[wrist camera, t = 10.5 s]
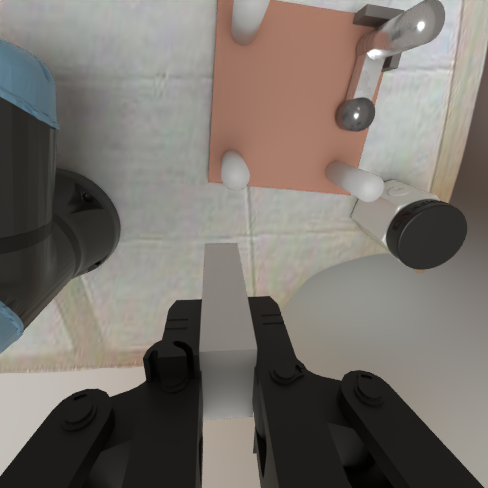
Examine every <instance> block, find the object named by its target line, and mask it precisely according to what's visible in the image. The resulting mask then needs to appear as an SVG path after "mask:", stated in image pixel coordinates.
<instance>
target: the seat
mask: <svg viewBox="0 0 488 488" xmlns="http://www.w3.org/2000/svg"><path fill="white" fill-rule="evenodd" d="M404 11H405V10H399V9H393V8H388V7H382V6H376V5H370V4H367V5H366V6H364V7H363V8H362V9H361V10H359V11H358V12H357V13H349V12H343V11H337V10H331V9H324V8H318V7H312V6H306V5H300V4H294V3H288V2H282V1H276V0H218V8H217V27H216V45H215V64H214V82H213V101H212V119H211V138H210V156H209V175H208V182H212V183H223V184H224V185H225V186H226V187H227V188H229V189H231V190H240V189H242V188H244V187H245V186H256V187H267V188H278V189H289V190H300V191H311V192H322V193H333V194H344V195H351V194H352V195H354V196H355V197H357V198H359V199H360V200H362V201H364V202H372V201H375V200H376V199H378V198H379V197H380V196H381V194H382V193H383V190H384V182H383V180H382V179H381V178H380V177H379V176H377V175H374V174H371V173H369V172H366V171H364V170H361V169H358V166H359V162H360V159H361V155H362V151H363V147H364V144H365V140H366V136H367V132H368V129H369V127H368V128H366V129H365V130H363V131H359V132H355V131H346V130H343V129H341V128H340V127H339V126H338V125H337V123H336V117H335V116H336V111H337V109H338V107H339V106H340V104H341V103H342V102H344V101H345V99H346V95H347V92H348V88H349V85H350V81H351V78H352V74H353V70H354V67H355V63H356V60H357V54H356V48H357V44H358V42H359V40H360V39H361V37H362V36H364V35H365V34H367V33H368V32H370V31H372V30H374V29H375V28H377V27H379V26H381V25H382V24H384V23H386V22H388V21H389V20H391V19H393V18H394V17H396V16H398V15H400V14H401V13H403V12H404ZM401 53H402V52H401ZM401 53H398V54H395V55H392V56H390V57H387V58H385V61H384V64H383V67H382V70H381V74H380V77H379V80H378V83H377V86H376V90H375V93H374V96H373V99H372V103H373V104H374V106H375V102H376V99H377V95H378V91H379V87H380V84H381V80H382V76H383V72H385V71H389V70H392V69H396V68H398V64H399V61H400V57H401Z"/></svg>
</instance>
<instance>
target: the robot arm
mask: <svg viewBox="0 0 488 488" xmlns="http://www.w3.org/2000/svg"><path fill="white" fill-rule="evenodd" d="M57 130H60V126H59V123H58V122H57V109H56V84H55V80H54V78H53V75H52V73H51V72H50V70H49V69H48V68H47V66H46V65H45V64H44V63H43V62H42V61H41V60H39V59H38V58H37V57H35V56H34V55H32V54H30V53H29V52H27V51H25V50H23V49H21V48H19V47H17V46H15V45H13V44H11V43H9V42H7V41H5V40H3V39H1V38H0V354H1V353H2V352H3V351H4V350H5V349H6V348H8V347H9V346H10V345H11V344H12V343H13V342H15V341H17V340H18V339H19V338H20V337H21V336H22V335H23V334H22V333H23V332H24V330H25V329H26V328H27V327H28V326H29V324H30V323H31V322H32V321H33V320H34V319H35V318H36V317H37V316H38V315H39V314H40V312H41V311H42V310H43V309H44V308H45V307H46V306H47V305H48V304H49V303H50V302H51V301H52V299H53V298H54V297H55V296H56V295H57V294H58V293H59V292H60V291H61V290H62V289H63V287H64V286H65V285H66V284H67V283H68V282H69V281H70V280H71V279H72V278H75V277H77V276H80V275H82V274H85V273H87V272H90V271H92V270H94V269H96V268H97V267H99V266H100V265H102V264H103V263H104V262H105V261H106V260H107V259H108V257H109V256H110V255H111V254H112V253H113V251H114V250H115V248H116V246H117V244H118V241H119V237H120V222H119V217H118V214H117V211H116V209H115V207H114V205H113V204H112V202H111V200H110V199H109V198H108V196H107V195H106V194H105V193H104V192H103V191H102V190H101V189H100V188H99V187H98V186H97V185H96V184H94V183H93V182H91V181H90V180H88V179H87V178H85V177H83V176H81V175H79V174H76V173H74V172H71V171H67V170H62V169H56V151H57ZM143 362H144V368H145V375H146V381H145V382H144V383H142V384H141V385H139V386H138V387H136V388H134V389H131V390H129V391H127V392H123V393H120V394H118V395H115V396H112V397H109V396H108V394H107V393H106V392H104V391H102V390H99V389H85V390H82V391H79V392H76V393H74V394H72V395H71V396H69V397H67V398H66V399H64V400H62V402H60V403H59V405H58V406H56V407H55V408H54V409H53V410H52V412H51V413H50V414H49V415H48V417H47V418H46V419H45V420H44V422H43V423H42V424H41V426H40V427H39V428H38V429H37V431H36V432H35V433H34V434H33V436H32V437H31V438H30V439H29V441H28V442H27V443H26V444H25V446H24V447H23V448H22V449H21V451H20V452H19V453H18V455H17V456H16V457H15V458H14V460H13V461H12V462H11V463H10V465H9V466H8V467H7V468H6V470H5V471H4V472H3V474H2V475H1V476H0V488H202V459H203V434H202V429H203V421H205V420H217V419H231V418H243V417H252V416H253V412H254V418H255V436H254V448H253V453H257V461H258V469H259V477H260V484H261V488H484V487H483V486H482V485H481V484H480V483H479V482H478V480H476V478H475V477H474V476H473V475H472V474H471V473H470V472H469V471H468V470H467V469H466V467H465V466H464V465H463V464H462V463H461V462H460V461H459V460H458V459H457V458H456V457H455V456H454V455H453V453H452V452H451V451H450V450H449V449H448V448H447V447H446V446H445V445H444V444H443V443H442V442H441V441H440V440H439V438H437V436H436V435H435V434H434V433H433V432H432V431H431V430H430V429H429V428H428V426H427V425H426V424H425V423H424V422H423V421H422V420H421V419H420V418H419V417H418V416H417V415H416V413H415V412H414V411H413V410H412V409H411V408H410V407H409V406H408V405H407V404H406V403H405V402H404V401H403V399H402V398H401V397H400V396H399V395H398V394H397V393H396V392H395V391H394V390H393V389H392V388H391V387H390V386H389V384H387V383H386V382H385V381H384V380H383V379H381V378H380V377H378V376H376V375H374V374H372V373H370V372H366V371H361V370H357V371H351V372H349V373H347V374H345V375H344V377H343V379H342V381H340V380H335V379H331V378H326V377H322V376H319V375H316V374H314V373H312V372H310V371H308V370H307V369H306V367H305V366H304V364H303V363H301V362H300V361H299V360H298V359H297V358H296V356H295V353H294V350H293V347H292V344H291V341H290V338H289V336H288V333H287V330H286V327H285V324H284V321H283V318H282V316H281V312H280V309H279V306H278V304H277V303H276V302H275V301H274V300H273V299H272V298H271V297H270V296H263V297H247V292H246V287H245V281H244V276H243V271H242V266H241V260H240V255H239V250H238V245H237V243H207V244H205V255H204V273H203V291H202V299H201V300H176V302H175V303H174V304H173V305H172V306H171V307H170V309H169V311H168V315H167V322H166V325H165V331H164V334H163V338H162V340H161V341H159V342H157V343H155V344H154V345H152V346H151V347H150V348H149V349H148V350H147V352H146V353H145V355H144V357H143Z"/></svg>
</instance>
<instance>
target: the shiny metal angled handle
mask: <svg viewBox="0 0 488 488" xmlns="http://www.w3.org/2000/svg"><path fill="white" fill-rule="evenodd" d="M444 21H445V10H444V7H443V5H442V4H441V2H440V1H438V0H424V1H422V2H420V3H419V4H417V5H415V6H414V7H412V8H410V9H408V10H407V11H405V12H403V13H401V14H400V15H398V16H396V17H394V18H393V19H391V20H389V21H388V22H386V23H384V24H382V25H381V26H379V27H377V28H375V29H374V30H372V31H370V32H368V33H367V34H365V35H364V36H362V37H361V39H360V40H359V42H358V44H357V48H356V54H357V60H356V63H355V67H354V70H353V74H352V78H351V81H350V85H349V88H348V92H347V95H346V99H345V101H344V102H342V103H341V104H340V106H339V107H338V109H337V111H336V116H335V117H336V123H337V125H338V126H339V127H340V128H341V129H343V130H346V131H355V132H359V131H363V130H365V129H366V128H368V127H369V126H370V124H371V123H372V121H373V119H374V116H375V107H374V104H373V103H372V99H373V96H374V93H375V90H376V86H377V83H378V80H379V77H380V74H381V70H382V67H383V64H384V61H385V58H387V57H390V56H392V55H395V54H398V53H401V52H404V51H406V50H409V49H412V48H415V47H418V46H420V45H423V44H426V43H429V42H431V41H432V40H434V39H435V38H436V37H437V36H438V34H439V33H440V31H441V30H442V27H443V25H444Z"/></svg>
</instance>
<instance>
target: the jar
mask: <svg viewBox="0 0 488 488" xmlns="http://www.w3.org/2000/svg"><path fill="white" fill-rule="evenodd" d="M351 217H352V218H353V220H354V221H355V222H356V223H357V224H358V225H359V226H360V227H361V229H362V230H363V231H364V232H365V233H366V234H367V235H368V236H369V237H370V238H372V239H373V240H374V241H375V242H376V243H378V244H379V245H380V246H381V247H383V248H384V249H385V250H386V251H387V252H389V253H390V254H391V255H392V256H394V257H395V258H396V259H397V260H398V261H400V262H402V263H404V264H405V265H406V266H408V267H410V268H413V269H420V270H422V269H430V268H434V267H436V266H439V265H441V264H443V263H445V262H446V261H448V260H449V259H450V258H452V257H453V256H454V255H455V254H456V252H457V251H458V250H459V249H460V247H461V246H462V244H463V242H464V240H465V237H466V234H467V222H466V219H465V216H464V215H463V213H462V212H461V211H459V209H457V208H455V207H453V206H452V205H450V204H448V203H445V202H442V201H440V200H439V198H438V197H437V196H436V195H433V194H431V193H428V192H425V191H423V190H420V189H417V188H415V187H412V186H409V185H407V184H404V183H401V182H398V181H396V180H390V181H386V182H384V190H383V193H382V194H381V196H380V197H379V198H378V199H376V200H375V201H372V202H364V201H362V200H360V199H358V201H357V203H356V206H355V208H354V210H353V213H352V215H351Z"/></svg>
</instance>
